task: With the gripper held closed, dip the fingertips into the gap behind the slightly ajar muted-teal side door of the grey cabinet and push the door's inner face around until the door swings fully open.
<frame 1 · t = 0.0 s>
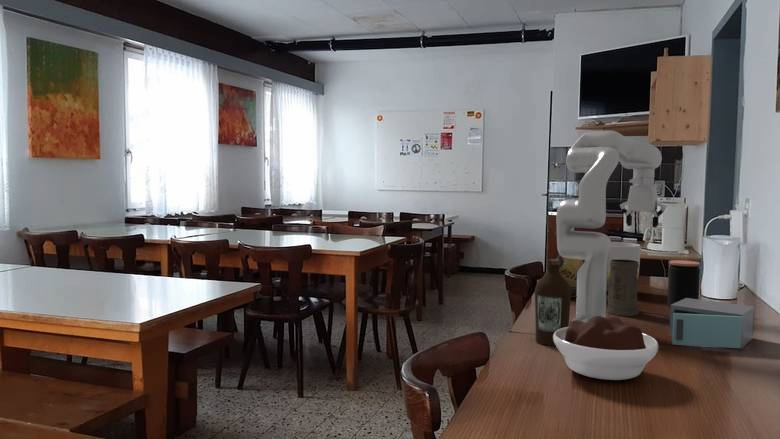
hand: (641, 226, 235), 31 cm above the table, fingers open, 9 cm apart
coffee jar: (682, 308, 233), on the table
grey cabinet: (711, 337, 190), on the table
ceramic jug: (567, 296, 257), on the table
beer stein: (624, 312, 226), on the table
white dessert bowl: (603, 375, 153), on the table
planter: (614, 293, 265), on the table
side door: (708, 330, 178), point 5 cm above the table, hinge at 30.0°
olive oil: (551, 342, 183), on the table
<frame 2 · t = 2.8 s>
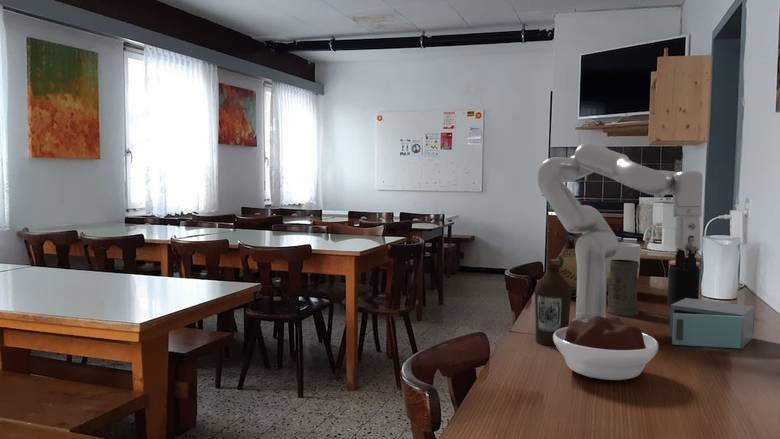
hand: (685, 269, 182), 22 cm above the table, fingers open, 9 cm apart
nothing on the table moved.
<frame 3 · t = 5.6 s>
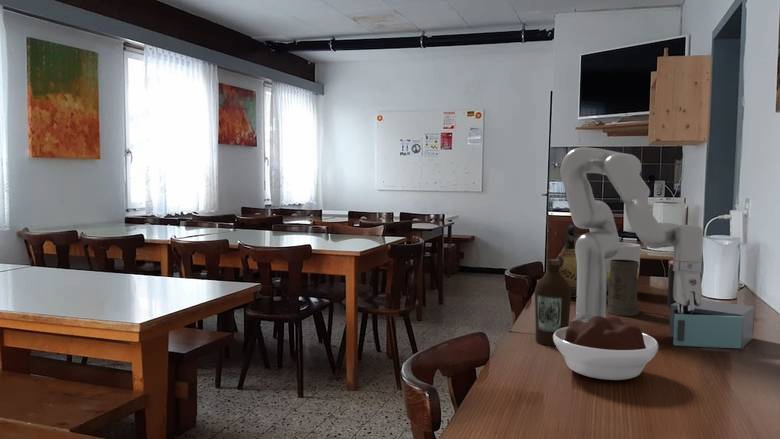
hand: (684, 327, 182), 5 cm above the table, fingers closed
side door: (709, 331, 177), point 5 cm above the table, hinge at 33.5°, touching gripper
everything else where it was.
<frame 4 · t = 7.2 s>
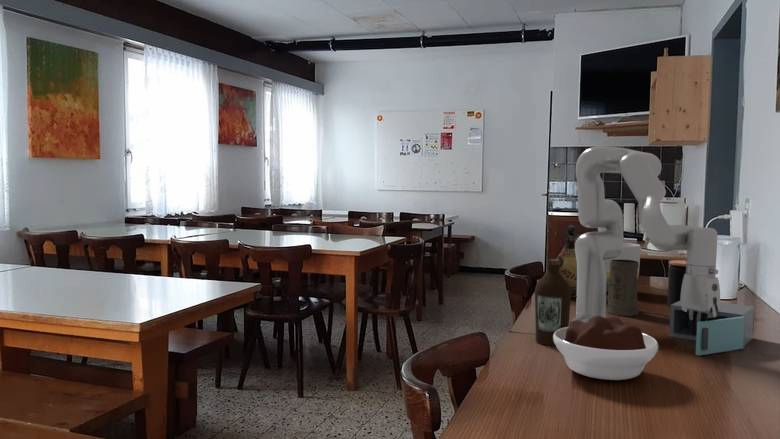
hand: (697, 334, 173), 5 cm above the table, fingers closed
side door: (722, 335, 172), point 5 cm above the table, hinge at 66.3°, touching gripper
everything else where it was.
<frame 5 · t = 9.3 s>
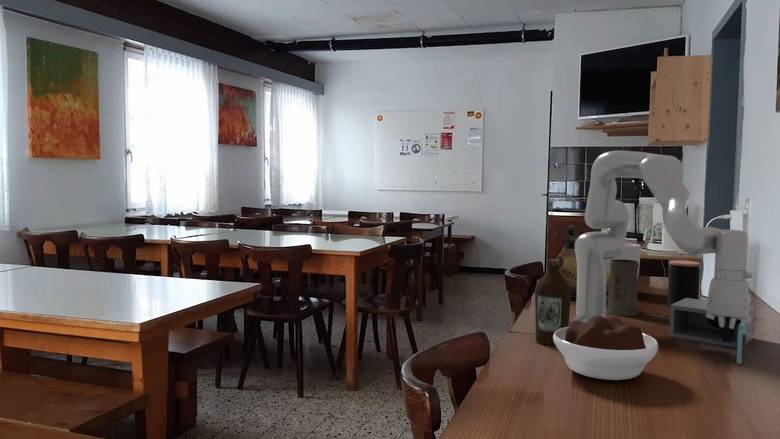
hand: (726, 341, 166), 5 cm above the table, fingers closed
side door: (743, 339, 169), point 5 cm above the table, hinge at 99.2°, touching gripper
everything else where it was.
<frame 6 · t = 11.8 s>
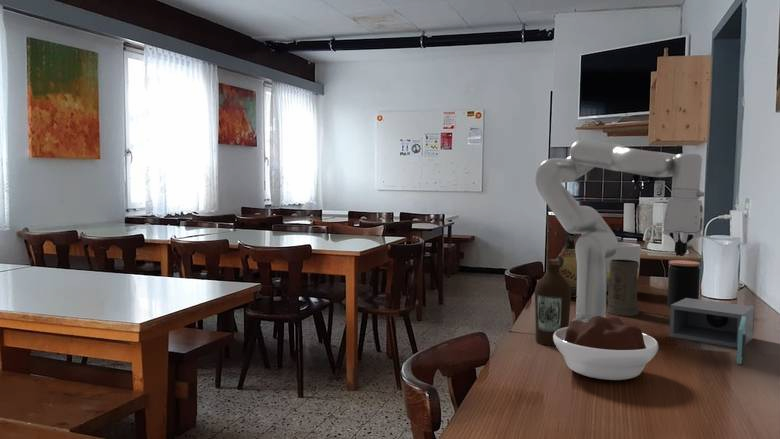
hand: (680, 255, 183), 26 cm above the table, fingers closed
side door: (743, 339, 169), point 5 cm above the table, hinge at 99.3°
everything else where it was.
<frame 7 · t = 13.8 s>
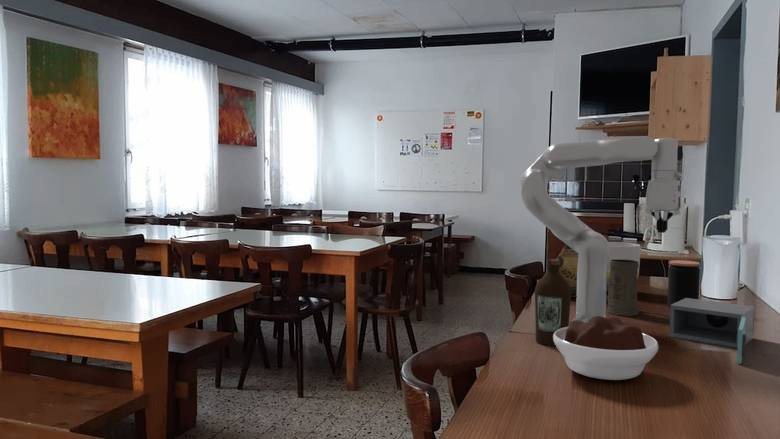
hand: (661, 232, 199), 32 cm above the table, fingers closed
nothing on the table moved.
at the end: side door at +99° (first picture: +30°) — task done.
